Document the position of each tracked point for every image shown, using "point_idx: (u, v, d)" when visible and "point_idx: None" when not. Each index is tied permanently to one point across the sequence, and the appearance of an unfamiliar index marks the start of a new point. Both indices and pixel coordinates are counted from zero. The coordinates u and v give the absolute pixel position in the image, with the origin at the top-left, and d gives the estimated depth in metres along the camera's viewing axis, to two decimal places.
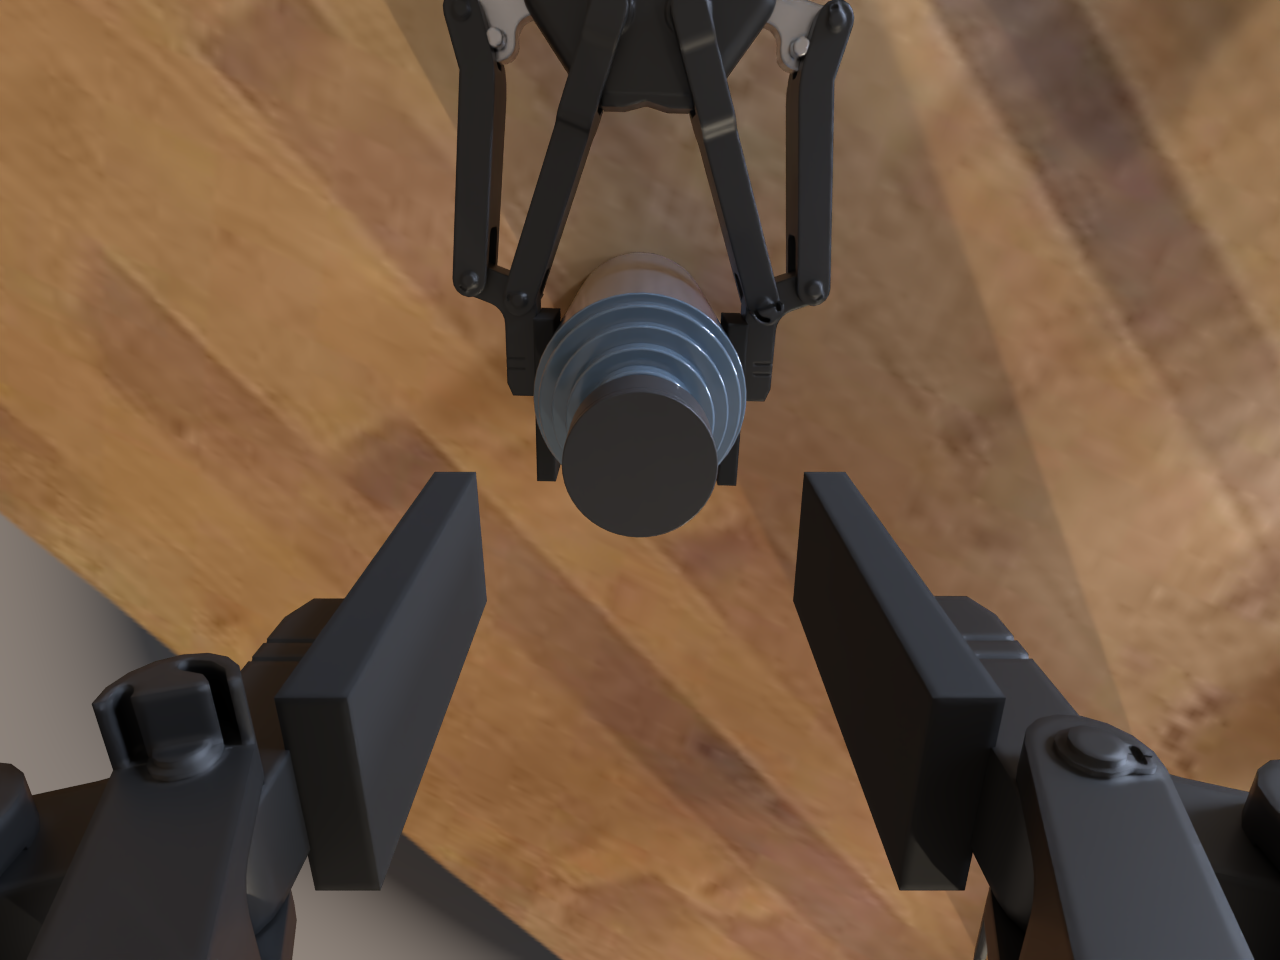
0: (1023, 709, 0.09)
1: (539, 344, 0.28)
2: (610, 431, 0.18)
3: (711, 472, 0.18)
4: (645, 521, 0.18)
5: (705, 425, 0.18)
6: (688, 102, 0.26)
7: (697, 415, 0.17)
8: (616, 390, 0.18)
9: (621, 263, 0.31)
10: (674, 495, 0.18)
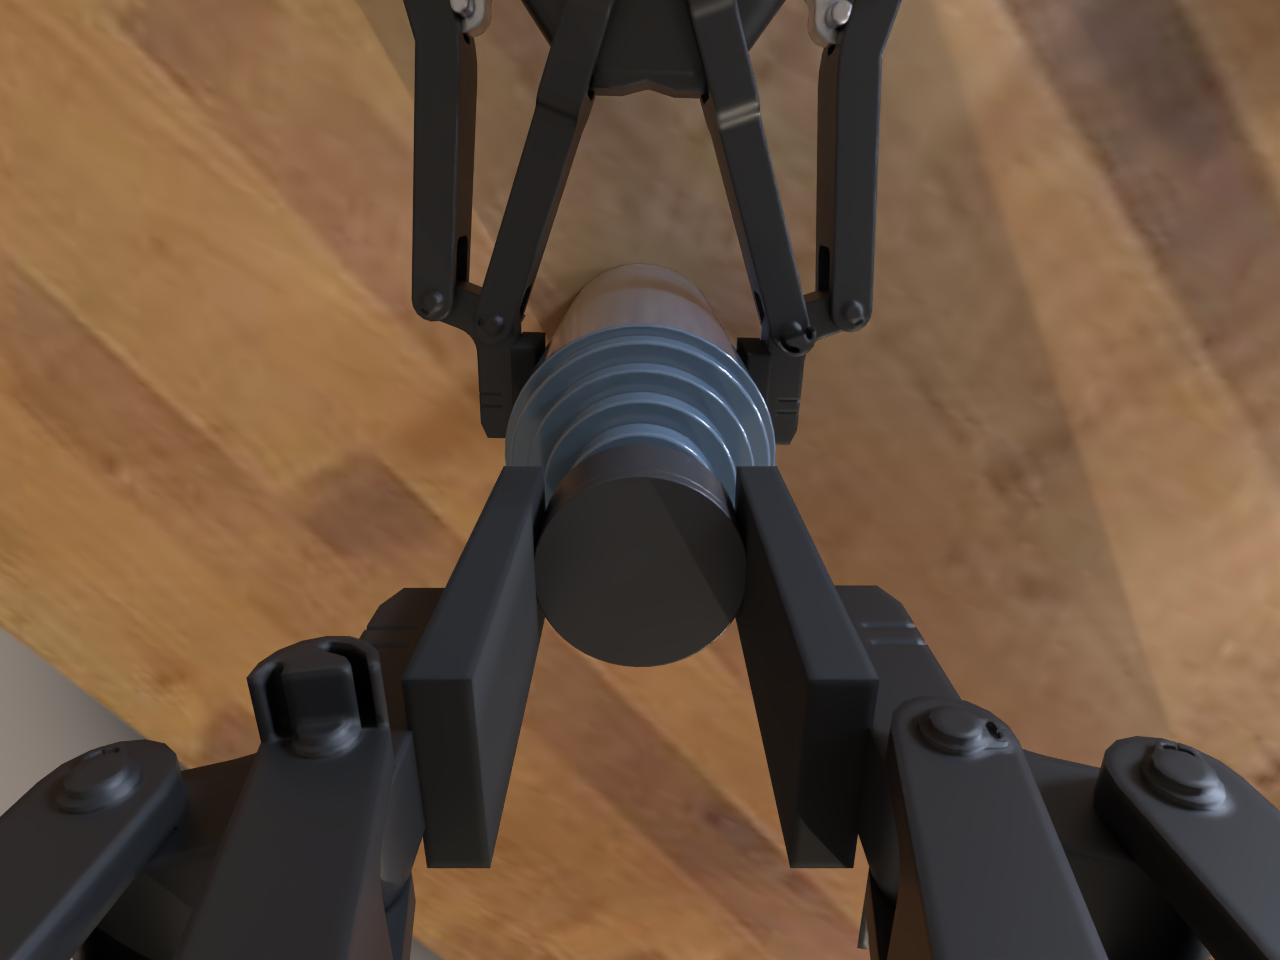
0: (907, 692, 0.09)
1: (518, 378, 0.23)
2: (599, 529, 0.13)
3: (739, 583, 0.13)
4: (648, 646, 0.13)
5: (731, 521, 0.13)
6: (700, 82, 0.21)
7: (720, 507, 0.12)
8: (607, 471, 0.13)
9: (618, 278, 0.26)
10: (688, 613, 0.13)
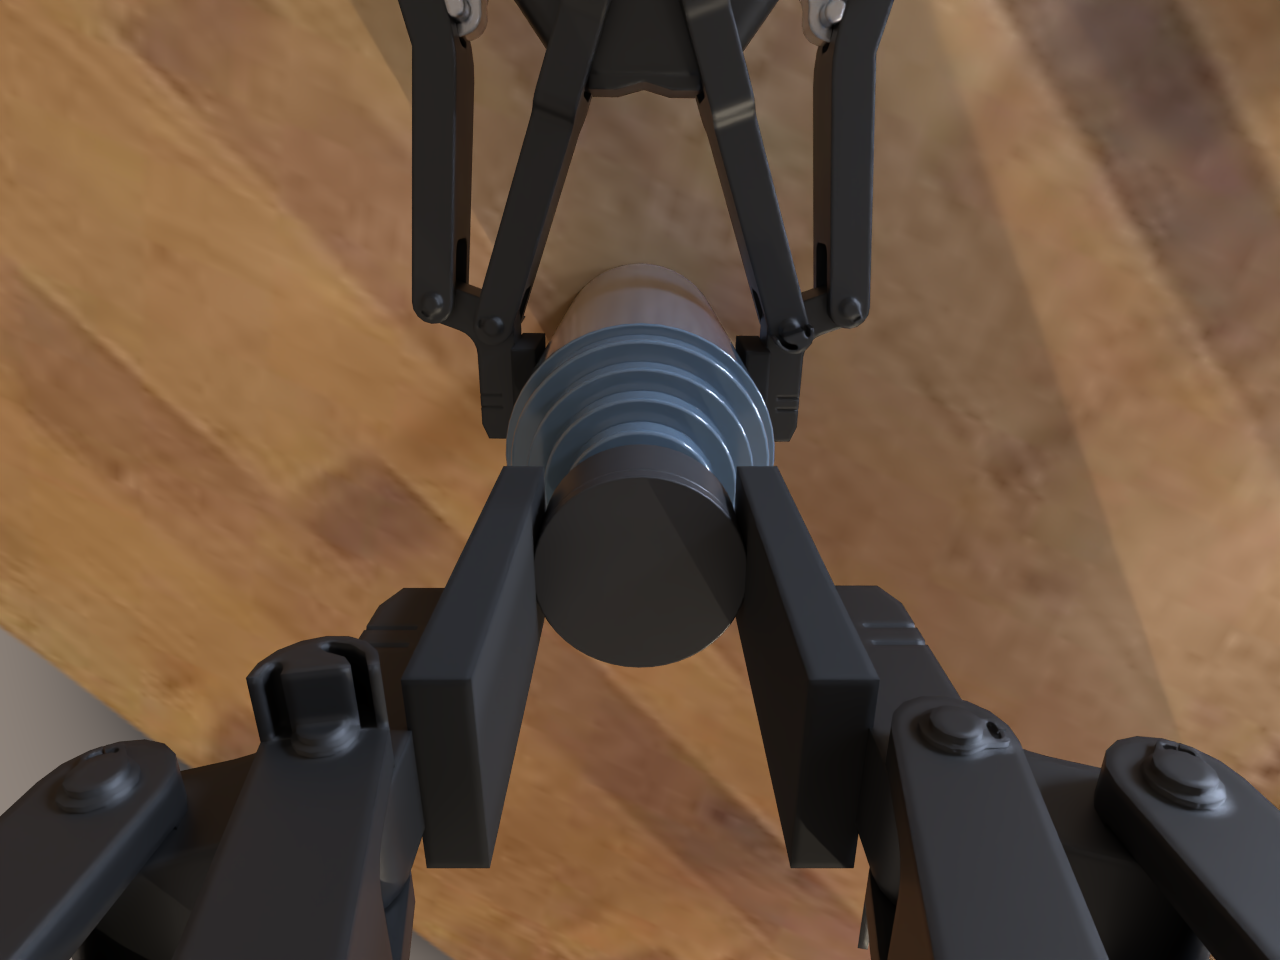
0: (908, 692, 0.09)
1: (518, 379, 0.24)
2: (625, 631, 0.13)
3: (581, 501, 0.12)
4: (701, 524, 0.12)
5: (536, 546, 0.13)
6: (695, 82, 0.21)
7: None
8: None
9: (617, 278, 0.26)
10: (642, 518, 0.12)
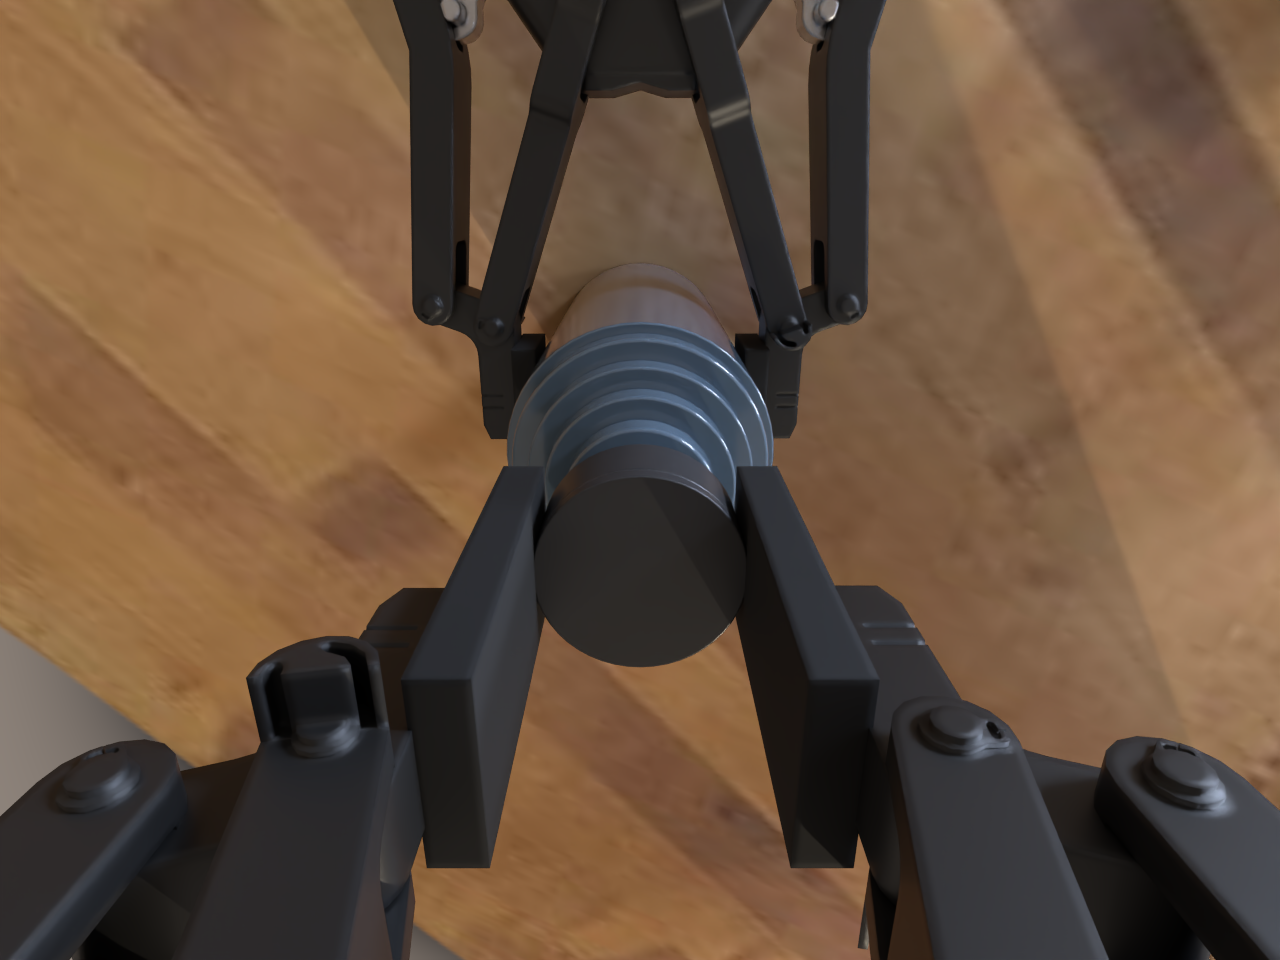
0: (908, 692, 0.09)
1: (519, 379, 0.24)
2: (700, 551, 0.13)
3: (612, 657, 0.13)
4: (557, 567, 0.13)
5: (677, 659, 0.14)
6: (691, 82, 0.21)
7: (693, 653, 0.13)
8: None
9: (615, 278, 0.26)
10: (589, 610, 0.13)
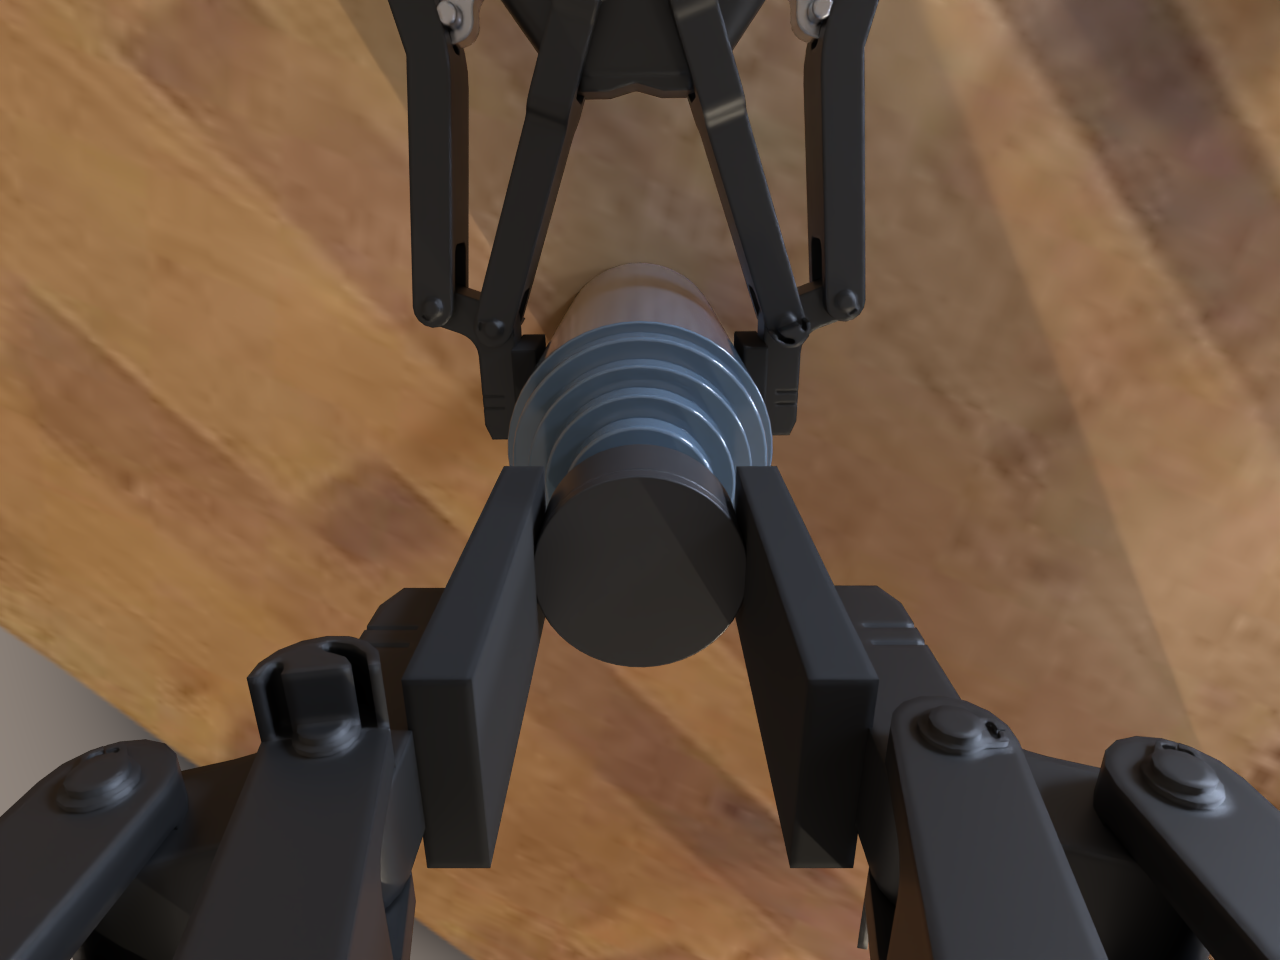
0: (907, 692, 0.09)
1: (519, 380, 0.24)
2: (580, 551, 0.13)
3: (734, 543, 0.13)
4: (682, 637, 0.13)
5: (696, 489, 0.12)
6: (686, 82, 0.21)
7: (679, 482, 0.12)
8: (565, 495, 0.13)
9: (614, 278, 0.26)
10: (702, 591, 0.13)
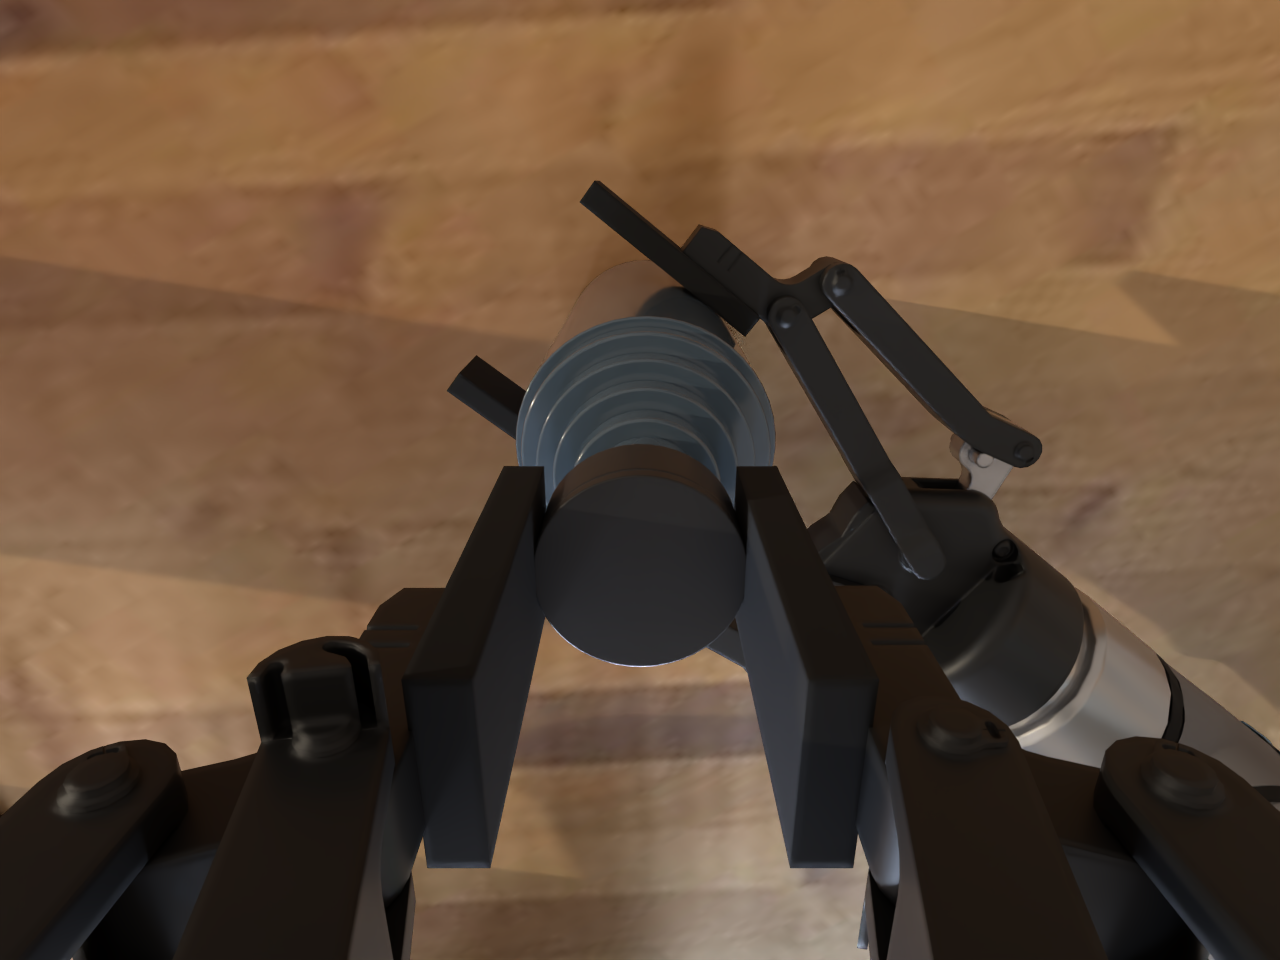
0: (907, 692, 0.09)
1: (733, 304, 0.23)
2: (580, 550, 0.13)
3: (734, 543, 0.13)
4: (682, 636, 0.13)
5: (696, 489, 0.12)
6: None
7: (679, 482, 0.12)
8: (565, 495, 0.13)
9: None
10: (701, 591, 0.13)
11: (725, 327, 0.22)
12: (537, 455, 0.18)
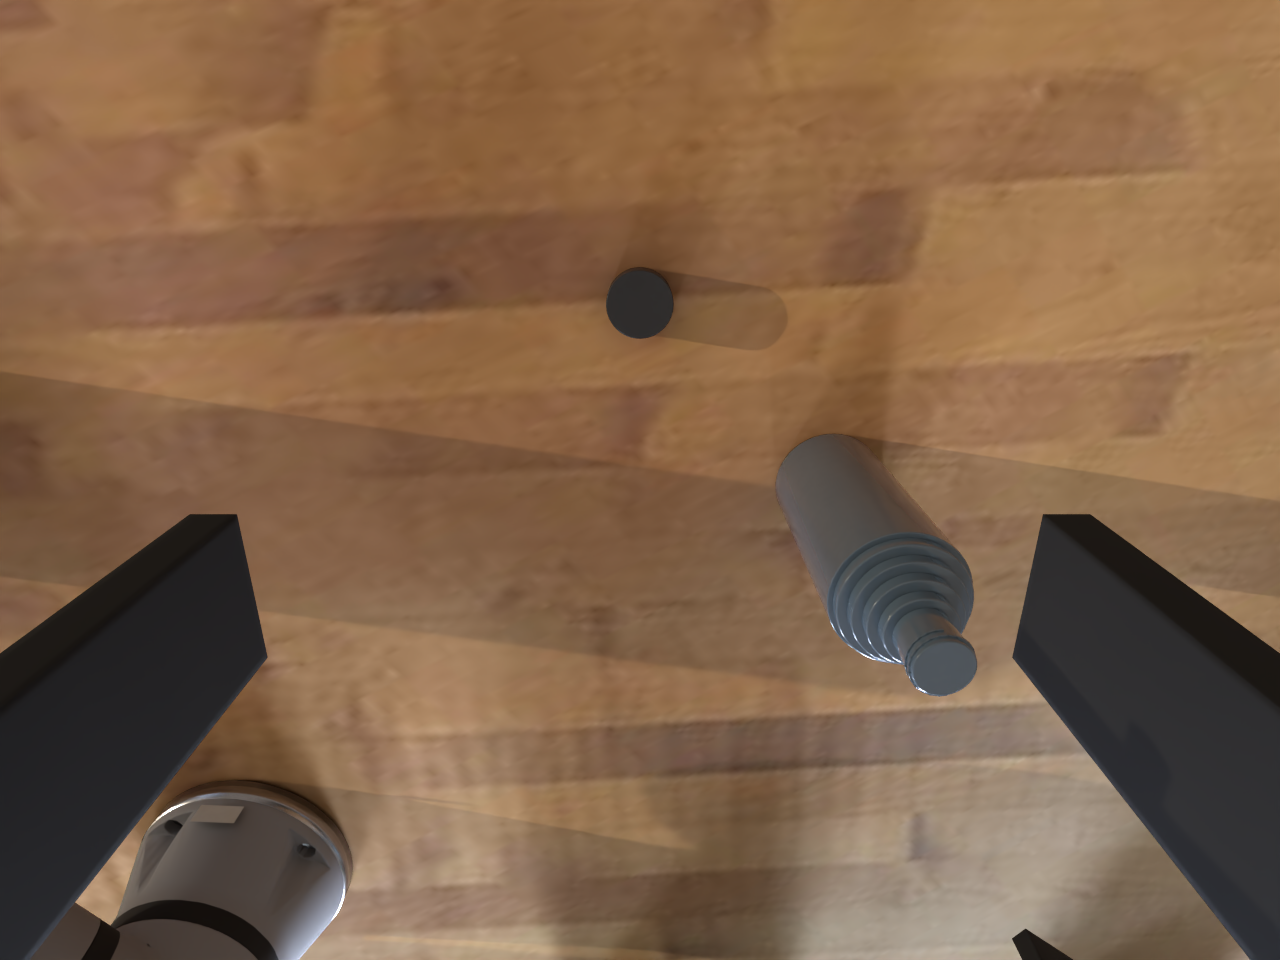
0: None
1: None
2: (621, 295, 0.41)
3: (668, 293, 0.41)
4: (653, 327, 0.42)
5: (656, 275, 0.41)
6: None
7: (651, 272, 0.41)
8: (616, 279, 0.41)
9: None
10: (659, 310, 0.42)
11: (927, 515, 0.37)
12: (852, 608, 0.33)
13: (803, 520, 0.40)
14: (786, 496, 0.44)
